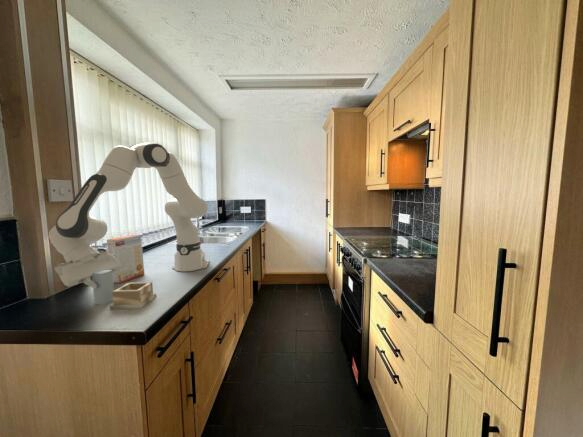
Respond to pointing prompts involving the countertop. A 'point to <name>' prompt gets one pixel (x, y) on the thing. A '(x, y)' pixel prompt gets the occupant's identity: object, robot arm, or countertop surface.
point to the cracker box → (127, 257)
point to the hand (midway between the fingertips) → (104, 284)
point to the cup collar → (132, 295)
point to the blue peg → (103, 287)
